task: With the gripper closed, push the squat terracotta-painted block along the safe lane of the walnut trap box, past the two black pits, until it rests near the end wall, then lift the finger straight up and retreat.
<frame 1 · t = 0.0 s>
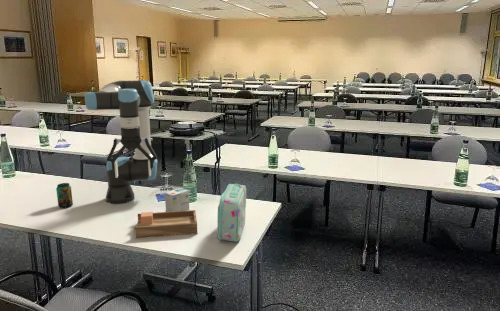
hand: (133, 176, 170), 28 cm above the table, fingers open, 13 cm apart
trap box: (167, 228, 185), on the table
block: (147, 222, 186), point 2 cm above the table, touching trap box
beverage can: (65, 206, 211), on the table
lunch box: (232, 232, 182), on the table
light bulb box: (177, 211, 206), on the table
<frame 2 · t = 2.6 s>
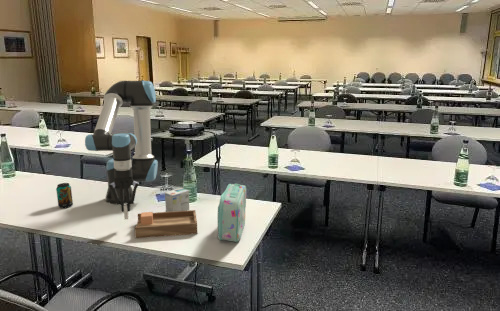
hand: (126, 218, 183), 5 cm above the table, fingers closed
nothing on the table moved.
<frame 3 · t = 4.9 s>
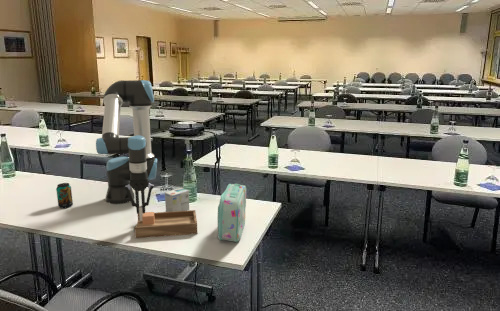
hand: (141, 219, 185), 4 cm above the table, fingers closed
block: (148, 222, 186), point 3 cm above the table, touching gripper
everything else where it was.
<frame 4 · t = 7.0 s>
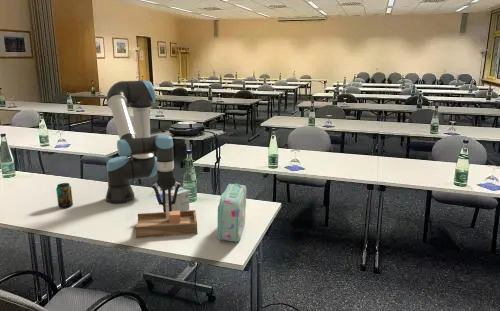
hand: (167, 217, 187), 4 cm above the table, fingers closed
block: (174, 220, 187), point 3 cm above the table, touching gripper
everything else where it was.
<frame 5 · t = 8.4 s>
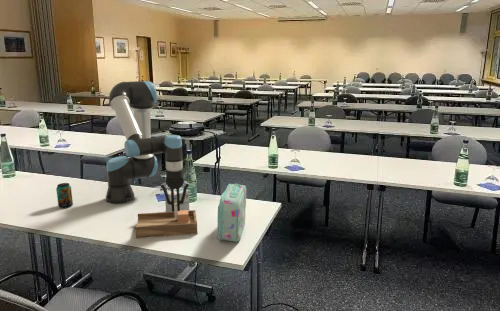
hand: (176, 217, 187), 4 cm above the table, fingers closed
block: (183, 220, 188), point 2 cm above the table, touching gripper, trap box
everything else where it was.
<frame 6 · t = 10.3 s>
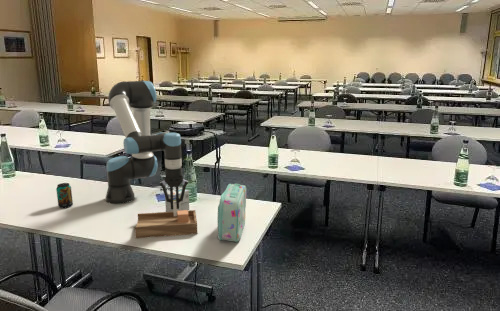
hand: (175, 215, 187), 5 cm above the table, fingers closed
block: (183, 220, 188), point 2 cm above the table, touching trap box
everything else where it was.
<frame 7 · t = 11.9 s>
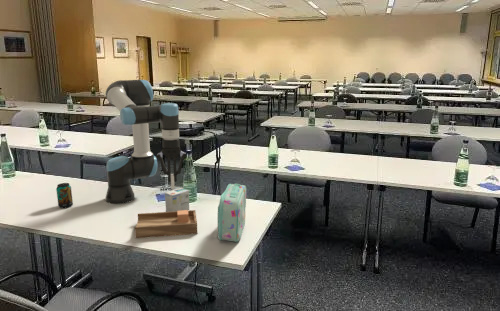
hand: (172, 188, 184), 18 cm above the table, fingers closed
nothing on the table moved.
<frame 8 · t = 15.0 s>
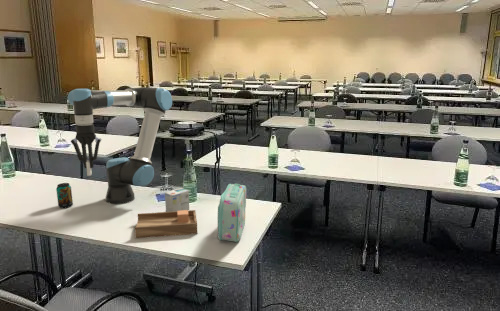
hand: (89, 174, 183), 24 cm above the table, fingers closed
nothing on the table moved.
at the end: block inside the target area on the trap box (1.3 cm from its centre), point 2.5 cm above the trap box's base; block tilted 0° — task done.
